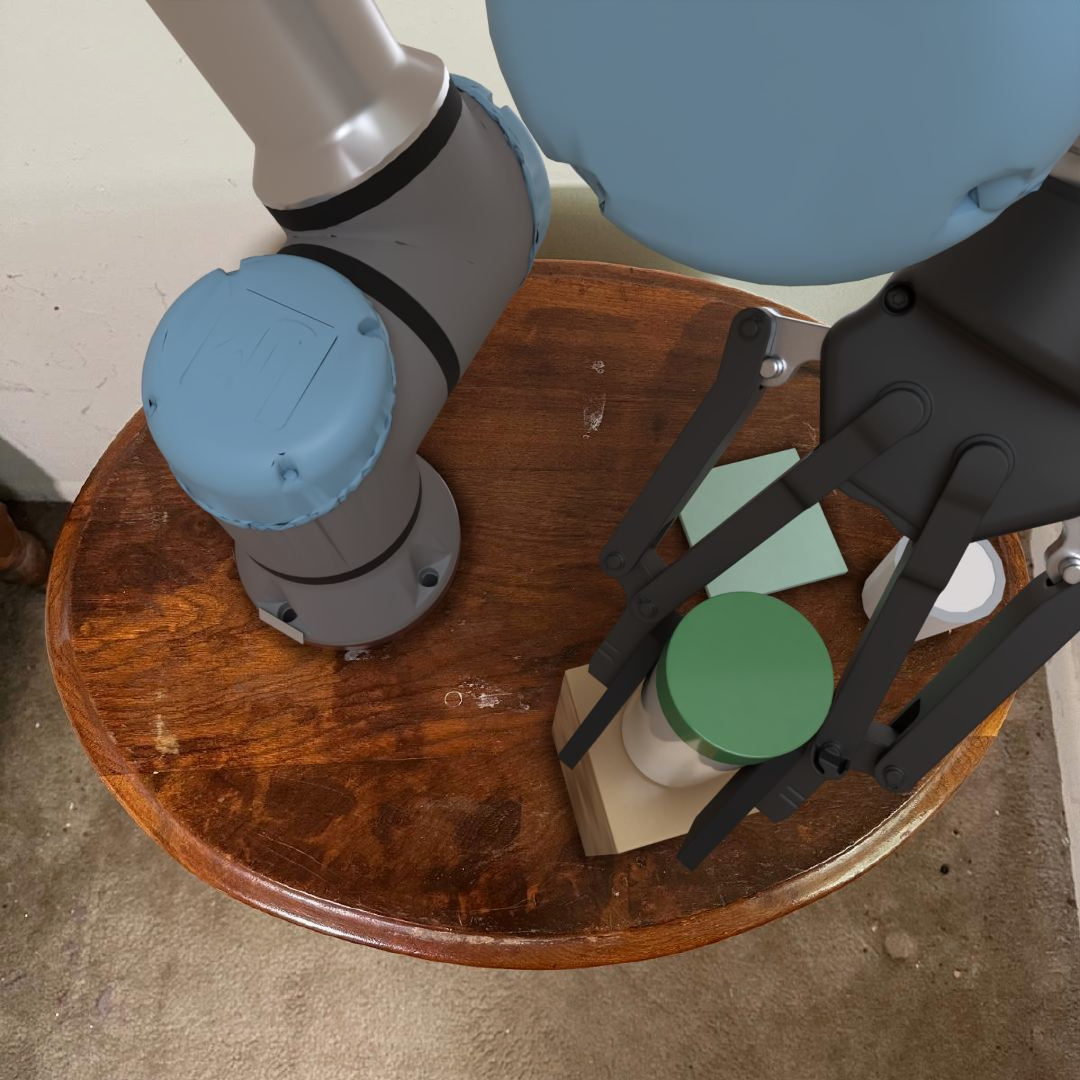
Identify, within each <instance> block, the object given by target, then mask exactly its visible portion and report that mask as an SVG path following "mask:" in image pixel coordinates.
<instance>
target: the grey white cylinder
mask: <svg viewBox="0 0 1080 1080" xmlns="http://www.w3.org/2000/svg"><path fill="white" fill-rule="evenodd" d="M908 540H909V538H907V537H906V536H904V535H903V536H902V537H901V539H900V540H898V542H897V543H896V544H895V545H894V546H893V548H892V549H891V550H890V551H889V552H888V554H887V555H886V556H885V557H884V558H883V559H882V560H881V561H880V563H879V564H878V565H877V567H876V568H874V570H873V571H872V573H871V574H869V576H868V577H867V579H865V582H864V585H863V589H862V592H861V598H862V606H863V607H862V608H863V611H864V613H865V614H866V616H867V617H868V619H869V620H870V618H871V616H872V614H873V612H874V610H875V608H876V606H877V604H878V602H879V600H880V598H881V596H882V594H883V592H884V590H885V588H886V586H887V584H888V582H889V580H890V578H891V576H892V574H893V572H894V570H895V568H896V566H897V564H898V562H899V560H900V558H901V556H902V554H903V552H904V549H905V547H906V545H907V542H908ZM1002 561H1003V560H1002V559H1001V558H1000V556H999V553H998V552H997V551H996V550H995V547H994V546H993V545H992V543H991V542H990V541H989V539H986V540H982V541H978V542H974V543H970V544H969V546H968V547H967V549H966V551H965V553H964V555H963V557H962V559H961V560H960V562H959V564H958V566H957V568H956V570H955V572H954V574H953V575H952V577H951V579H950V581H949V583H948V584H947V586H946V588H945V589H944V591H942V592H941V593H940V595H939V597H938V598H937V600H936V602H935V604H934V606H933V608H932V610H931V611H930V613H929V615H928V617H927V619H926V621H925V623H924V625H923V626H922V628H921V630H920V632H919V634H918V636H917V638H916V639H915V641H914V642H918V641H921V640H924V639H926V638H930V637H934V636H936V635H939V634H942V633H944V632H948V631H950V630H953V629H957V628H959V627H962V626H965V625H968V624H971V623H973V622H976V621H978V620H980V619H984V618H985V617H987V616H990V615H991V613H992V612H993V611H995V609H996V607H997V606H998V605H999V604H1000V603H1001V602H1002V600H1003V596H1004V592H1005V591H1004V590H1005V587H1006V582H1007V580H1006V575H1005V571H1004V566H1003V562H1002ZM869 620H868V621H869Z"/></svg>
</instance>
